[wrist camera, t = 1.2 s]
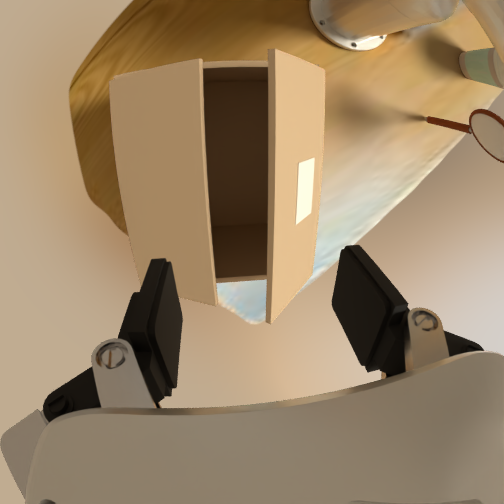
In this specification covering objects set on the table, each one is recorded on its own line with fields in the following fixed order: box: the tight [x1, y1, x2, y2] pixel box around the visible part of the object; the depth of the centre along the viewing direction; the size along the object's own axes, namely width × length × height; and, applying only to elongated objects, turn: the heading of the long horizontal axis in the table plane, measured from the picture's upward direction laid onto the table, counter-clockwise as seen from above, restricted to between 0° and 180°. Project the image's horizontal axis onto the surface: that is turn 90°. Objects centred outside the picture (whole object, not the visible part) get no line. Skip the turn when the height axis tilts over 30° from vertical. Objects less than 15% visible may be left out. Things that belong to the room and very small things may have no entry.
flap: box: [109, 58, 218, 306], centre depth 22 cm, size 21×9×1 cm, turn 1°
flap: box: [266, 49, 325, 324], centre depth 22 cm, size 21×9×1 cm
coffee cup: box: [459, 48, 504, 89], centre depth 25 cm, size 8×8×12 cm
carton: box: [114, 60, 319, 283], centre depth 30 cm, size 22×18×14 cm
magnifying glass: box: [425, 109, 504, 163], centre depth 27 cm, size 9×2×20 cm, turn 49°
